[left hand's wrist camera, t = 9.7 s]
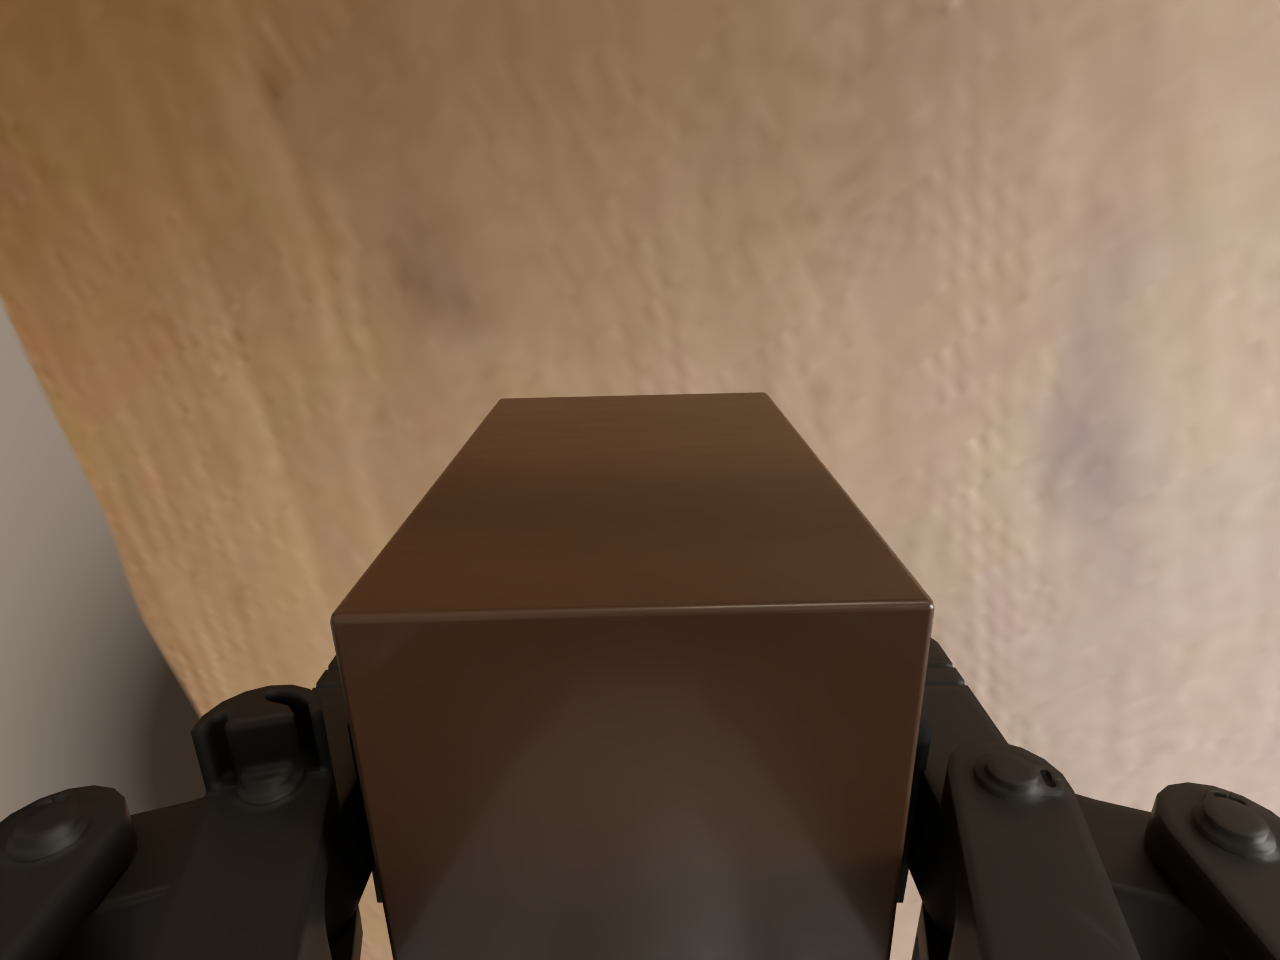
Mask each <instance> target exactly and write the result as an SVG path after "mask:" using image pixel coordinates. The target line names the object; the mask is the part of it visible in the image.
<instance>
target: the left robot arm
mask: <svg viewBox="0 0 1280 960" xmlns="http://www.w3.org/2000/svg"><path fill="white" fill-rule="evenodd" d="M328 667H329V668H328V670H325V672H324V673H323V675H322V676H321V677H320V679H319V680H318V682H317V683H316V684H317V685H316V688H313V689H312V690H310V689H307V688H303V687H299V686H295V685H273V686H266V687H262V688H258V689H254V690H250V691H246V692H243V693H241V694H239V695H237V696H234V697H232V698H230V699H228V700H226V701H223V702H221V703H220V704H219V705H217V706H216V707H214V708H213V709H212V710H210V711H209V712H207V713H206V714H205V715H203V716H202V717H201V719H200V720H199V721H198V723H197V724H196V725H195V726H194V728H193V729H192V730H191V735H192V738H193V742H194V746H195V750H196V754H197V757H198V761H199V765H200V768H201V772H202V776H203V780H204V784H205V788H206V791H207V792H206V794H205V797H203V798H199V799H196V800H193V801H189V802H186V803H182V804H177V805H173V806H169V807H164V808H160V809H156V810H151V811H147V812H142V813H138V814H134V815H130V813H129V810H128V807H127V804H126V800H125V798H124V797H123V796H122V795H121V794H120V793H119V792H117V791H116V790H115V789H114V788H108V787H101V786H95V785H93V786H86V787H79V788H72V789H67V790H64V791H61V792H58V793H55V794H52V795H49V796H46V797H44V798H41V799H38V800H36V801H35V802H33V803H31V804H29V805H27V806H25V807H23V808H22V809H20V810H18V811H16V812H14V813H12V814H11V815H9V816H8V817H7V818H5V819H4V820H3V821H2V822H0V960H360V955H361V945H362V936H363V931H362V924H361V917H360V911H359V906H358V904H359V901H360V899H361V896H362V894H363V891H364V889H365V887H366V884H367V882H368V879H369V877H370V874H371V872H372V873H373V879H374V885H375V891H376V897H377V902H383V901H382V896H381V891H380V885H379V880H378V875H377V869H376V864H375V859H374V853H373V848H372V843H371V837H370V832H369V827H368V821H367V816H366V811H365V805H364V800H363V795H362V789H361V784H360V779H359V773H358V768H357V763H356V757H355V752H354V747H353V741H352V736H351V731H350V725H349V720H348V715H347V709H346V704H345V699H344V693H343V688H342V683H341V677H340V672H339V667H338V661H337V656H335V657H334V659H333V660H332V661H331V663H330V664H329V666H328ZM908 870H910V872H911V875H912V877H913V879H914V882H915V884H916V887H917V889H918V892H919V894H920V896H921V899H922V906H921V911H920V917H919V922H918V928H917V933H916V939H915V944H914V949H913V955H912V960H1280V818H1279V817H1278V816H1277V815H1275V814H1274V813H1273V812H1271V811H1270V810H1268V809H1266V808H1264V807H1262V806H1260V805H1259V804H1257V803H1255V802H1253V801H1251V800H1249V799H1247V798H1245V797H1243V796H1241V795H1238V794H1235V793H1233V792H1229V791H1227V790H1224V789H1221V788H1218V787H1215V786H1210V785H1203V784H1196V783H1188V782H1187V783H1180V784H1173V785H1168V786H1167V787H1165V788H1164V789H1163V790H1162V791H1161V792H1159V793H1158V794H1157V796H1156V799H1155V802H1154V806H1153V809H1152V812H1147V811H1142V810H1138V809H1134V808H1129V807H1125V806H1121V805H1116V804H1112V803H1107V802H1103V801H1099V800H1095V799H1091V798H1088V797H1085V796H1081V795H1078V794H1075V793H1074V791H1073V789H1072V788H1071V786H1070V785H1069V783H1068V782H1067V780H1066V779H1065V777H1064V776H1063V774H1062V773H1060V772H1059V771H1058V770H1057V769H1056V768H1054V767H1053V766H1052V765H1051V764H1049V763H1048V762H1047V761H1046V760H1045V759H1043V758H1041V757H1039V756H1037V755H1035V754H1033V753H1031V752H1029V751H1027V750H1025V749H1023V748H1020V747H1017V746H1013V745H1010V744H1008V743H1007V741H1006V740H1005V739H1004V737H1003V736H1002V734H1001V733H1000V731H999V730H998V729H997V727H996V726H995V724H994V723H993V721H992V720H991V718H990V717H989V716H988V714H987V713H986V711H985V710H984V708H983V707H982V705H981V704H980V703H979V701H978V700H977V698H976V697H975V695H974V694H973V693H972V691H971V690H970V688H969V687H968V685H965V684H964V680H963V678H962V677H961V675H960V674H959V672H958V671H957V669H956V668H953V667H952V662H951V661H950V659H949V658H948V657H947V655H946V654H945V652H944V651H943V649H942V648H941V646H940V645H939V644H938V642H936V641H935V640H933V639H932V638H930V646H929V654H928V661H927V669H926V677H925V685H924V693H923V701H922V708H921V716H920V724H919V732H918V740H917V748H916V756H915V763H914V771H913V779H912V787H911V795H910V803H909V810H908V818H907V826H906V834H905V842H904V850H903V857H902V865H901V873H900V881H899V889H898V897H897V903H903V899H904V894H905V888H906V882H907V876H908Z"/></svg>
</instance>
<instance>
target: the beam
mask: <svg viewBox="0 0 1280 960" xmlns="http://www.w3.org/2000/svg"><path fill="white" fill-rule="evenodd" d="M933 614H934V604H933V601H932V599H931V598H930V597H929V596H928V594H927V593H926V592H925V591H924V589H923V588H922V587H921V586H920V584H919V583H918V582H917V581H916V579H915V578H914V577H913V576H912V574H911V573H910V572H909V571H908V569H907V568H906V567H905V566H904V564H903V563H902V562H901V561H900V559H899V558H898V557H897V556H896V554H895V553H894V552H893V551H892V549H891V548H890V547H889V546H888V544H887V543H886V542H885V541H884V539H883V538H882V537H881V536H880V534H879V533H878V532H877V531H876V529H875V528H874V527H873V526H872V524H871V523H870V522H869V521H868V519H867V518H866V517H865V516H864V514H863V513H862V512H861V511H860V509H859V508H858V507H857V506H856V504H855V503H854V502H853V501H852V499H851V498H850V497H849V496H848V494H847V493H846V492H845V491H844V489H843V488H842V487H841V486H840V484H839V483H838V482H837V481H836V479H835V478H834V477H833V476H832V474H831V473H830V472H829V471H828V469H827V468H826V467H825V466H824V464H823V463H822V462H821V461H820V459H819V458H818V457H817V456H816V454H815V453H814V452H813V451H812V449H811V448H810V447H809V446H808V444H807V443H806V442H805V441H804V439H803V438H802V437H801V436H800V434H799V433H798V432H797V431H796V429H795V428H794V427H793V426H792V424H791V423H790V422H789V421H788V420H787V418H786V417H785V416H784V415H783V413H782V412H781V411H780V410H779V408H778V407H777V406H776V405H775V403H774V402H773V401H772V400H771V398H770V397H769V396H768V395H767V394H766V393H764V392H763V393H721V394H679V395H637V396H594V397H552V398H510V399H501V400H499V401H498V403H497V404H496V405H495V406H494V408H493V409H492V410H491V412H490V413H489V414H488V415H487V417H486V418H485V419H484V420H483V422H482V423H481V424H480V426H479V427H478V428H477V429H476V431H475V432H474V433H473V435H472V436H471V437H470V438H469V440H468V441H467V442H466V444H465V445H464V446H463V447H462V449H461V450H460V451H459V452H458V454H457V455H456V456H455V458H454V459H453V460H452V461H451V463H450V464H449V465H448V467H447V468H446V469H445V470H444V472H443V473H442V474H441V476H440V477H439V478H438V479H437V481H436V482H435V483H434V485H433V486H432V487H431V488H430V490H429V491H428V492H427V493H426V495H425V496H424V497H423V499H422V500H421V501H420V502H419V504H418V505H417V506H416V508H415V509H414V510H413V511H412V513H411V514H410V515H409V517H408V518H407V519H406V520H405V522H404V523H403V524H402V525H401V527H400V528H399V529H398V531H397V532H396V533H395V534H394V536H393V537H392V538H391V540H390V541H389V542H388V543H387V545H386V546H385V547H384V549H383V550H382V551H381V552H380V554H379V555H378V556H377V558H376V559H375V560H374V561H373V563H372V564H371V565H370V566H369V568H368V569H367V570H366V572H365V573H364V574H363V575H362V577H361V578H360V579H359V581H358V582H357V583H356V584H355V586H354V587H353V588H352V590H351V591H350V592H349V593H348V595H347V596H346V597H345V599H344V600H343V601H342V602H341V604H340V605H339V606H338V607H337V609H336V610H335V611H334V613H333V614H332V617H331V620H330V624H331V629H332V634H333V640H334V645H335V651H336V656H337V661H338V667H339V672H340V677H341V683H342V688H343V693H344V699H345V704H346V709H347V715H348V720H349V725H350V731H351V736H352V741H353V747H354V752H355V757H356V763H357V768H358V773H359V779H360V784H361V789H362V795H363V800H364V805H365V811H366V816H367V821H368V827H369V832H370V837H371V843H372V848H373V853H374V859H375V864H376V869H377V875H378V880H379V885H380V891H381V896H382V901H383V907H384V912H385V917H386V923H387V928H388V933H389V939H390V944H391V949H392V955H393V960H889V959H890V952H891V944H892V936H893V928H894V920H895V912H896V905H897V897H898V889H899V881H900V873H901V865H902V857H903V850H904V842H905V834H906V826H907V818H908V810H909V803H910V795H911V787H912V779H913V771H914V763H915V756H916V748H917V740H918V732H919V724H920V716H921V708H922V701H923V693H924V685H925V677H926V669H927V661H928V654H929V646H930V638H931V630H932V622H933Z"/></svg>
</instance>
